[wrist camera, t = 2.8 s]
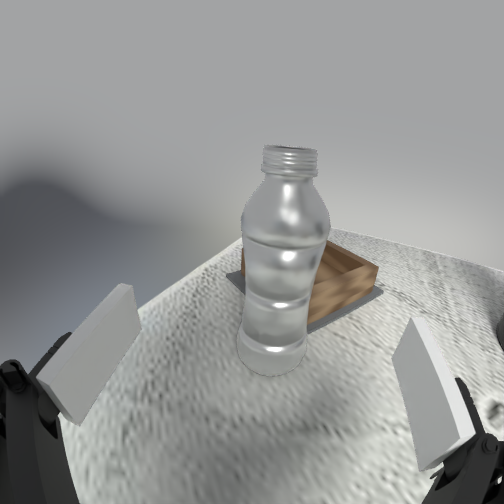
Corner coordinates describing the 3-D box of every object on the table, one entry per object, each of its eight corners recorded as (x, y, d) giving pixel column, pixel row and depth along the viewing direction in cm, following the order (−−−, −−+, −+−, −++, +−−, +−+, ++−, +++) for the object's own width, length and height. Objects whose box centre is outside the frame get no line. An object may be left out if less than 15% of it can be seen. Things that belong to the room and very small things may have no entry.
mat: (313, 252, 50) (314, 250, 50) (383, 293, 38) (383, 291, 38) (226, 276, 41) (226, 274, 41) (294, 340, 29) (294, 338, 29)
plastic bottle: (247, 333, 30) (256, 142, 21) (307, 346, 28) (339, 151, 20) (226, 374, 24) (225, 146, 16) (296, 391, 23) (339, 156, 14)
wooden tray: (309, 255, 48) (312, 232, 46) (371, 291, 37) (378, 266, 36) (241, 274, 41) (241, 248, 39) (302, 327, 30) (308, 297, 29)
